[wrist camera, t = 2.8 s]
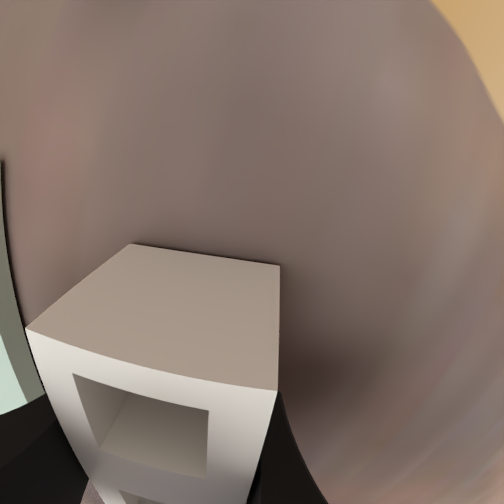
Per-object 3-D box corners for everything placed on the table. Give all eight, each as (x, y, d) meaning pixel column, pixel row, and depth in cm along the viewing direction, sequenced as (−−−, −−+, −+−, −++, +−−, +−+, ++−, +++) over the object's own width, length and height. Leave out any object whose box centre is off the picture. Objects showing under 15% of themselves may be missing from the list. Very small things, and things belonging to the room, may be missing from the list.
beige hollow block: (245, 447, 12) (232, 543, 7) (147, 427, 12) (112, 513, 8) (279, 266, 9) (277, 391, 4) (129, 243, 9) (25, 328, 4)
